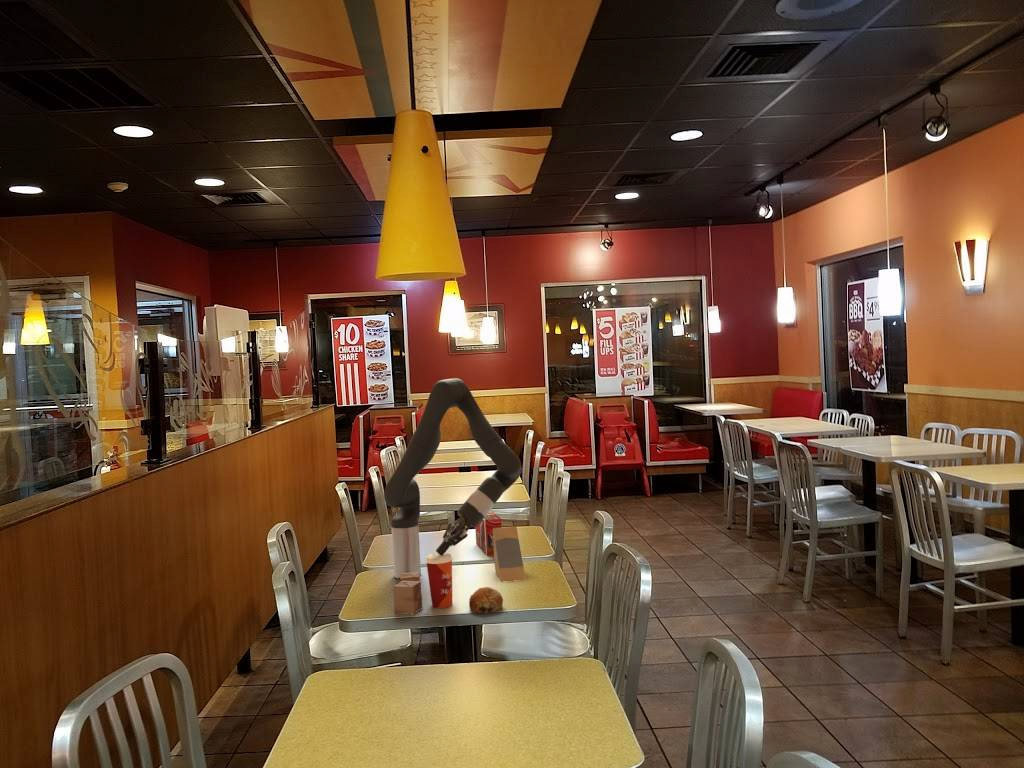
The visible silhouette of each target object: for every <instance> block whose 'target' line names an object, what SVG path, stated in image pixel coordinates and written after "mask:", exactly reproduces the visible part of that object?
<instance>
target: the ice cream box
mask: <svg viewBox="0 0 1024 768" xmlns="http://www.w3.org/2000/svg"><path fill="white" fill-rule="evenodd" d="M501 527H502V518H501V517H500V516H499V515H497V513H495V512H494V511H493V510H492V509H491V510H490V511H489V513H488V514H487V515H486V516H485V518H484V519H483V520H482V521H481V522H480V524H479V525H478V526H477V527H476V528H474V529H475V543H476V544H477V547H478V548H479V549H480V550H481V551H482V552H483V554H484V555H485V556H494V544H493V528H501ZM476 544H475V545H476Z"/></svg>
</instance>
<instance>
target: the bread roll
mask: <svg viewBox="0 0 1024 768" xmlns="http://www.w3.org/2000/svg"><path fill="white" fill-rule="evenodd" d="M503 603H504V599H503V595H502V594H501V592H499V591H498V590H497V589H495V588H492V587H489V586H483V587H479V588H478V589H476V590H475V591H474V592H473V594H470V597H469V600H468V604H469V610H470V611H471V612H472V613H475V614H476V613H477V614H491V613H495V612H497V611H500V610H501V609H502V608H503Z"/></svg>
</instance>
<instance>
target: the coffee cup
mask: <svg viewBox="0 0 1024 768" xmlns="http://www.w3.org/2000/svg"><path fill="white" fill-rule="evenodd" d="M453 560H454V558H453V557H452V554H451V553H449V552H445V553H444V554H443V555H442V556H441V555H440V554H438V553H437V552H435V553H430V554H428V555H427V556H426V558H425V560H424V561H425V563H426V568H427V569H426V570H427V576H428V584H429V585H428V586H429V593H430V597H431V598H430V600H431V605H432V608H435V609H445V608H449V606H450V607H452V605H453Z"/></svg>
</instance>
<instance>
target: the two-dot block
mask: <svg viewBox="0 0 1024 768" xmlns="http://www.w3.org/2000/svg"><path fill="white" fill-rule="evenodd" d="M420 577H421V575H420V574H419V572H409V573H400V579H399V583H400V582H401V581H421V578H420Z"/></svg>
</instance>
